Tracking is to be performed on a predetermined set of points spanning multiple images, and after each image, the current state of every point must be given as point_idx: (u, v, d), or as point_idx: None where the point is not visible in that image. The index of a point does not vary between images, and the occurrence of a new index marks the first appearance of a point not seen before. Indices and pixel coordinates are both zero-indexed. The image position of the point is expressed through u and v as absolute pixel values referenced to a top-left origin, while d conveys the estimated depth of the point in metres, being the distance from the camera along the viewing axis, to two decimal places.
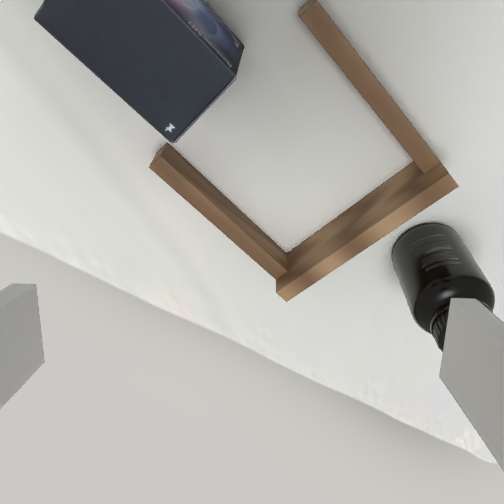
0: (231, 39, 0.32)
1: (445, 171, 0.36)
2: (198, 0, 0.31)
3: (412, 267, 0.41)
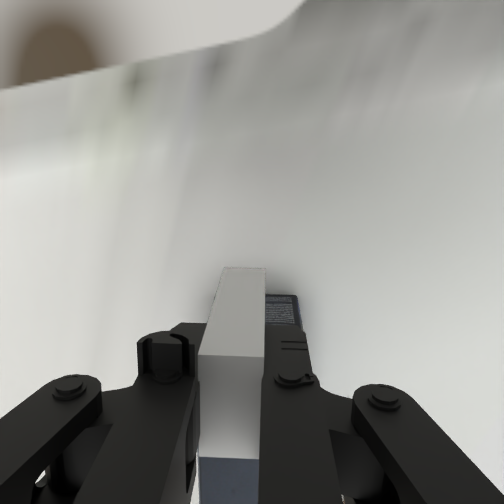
0: None
1: None
2: None
3: None
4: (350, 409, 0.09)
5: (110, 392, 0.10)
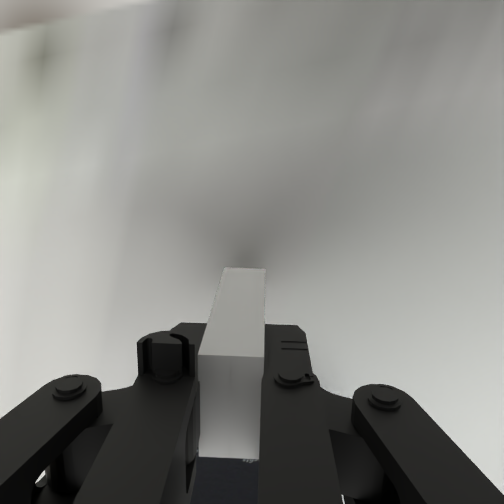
0: None
1: None
2: None
3: None
4: (350, 409, 0.09)
5: (110, 392, 0.10)
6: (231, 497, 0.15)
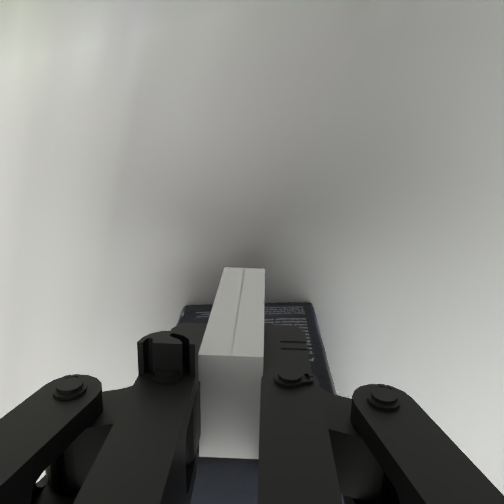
0: None
1: None
2: None
3: None
4: (349, 409, 0.09)
5: (110, 392, 0.10)
6: None
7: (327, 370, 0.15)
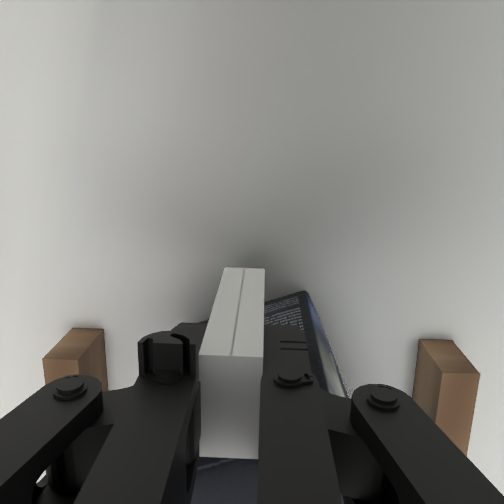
0: None
1: None
2: None
3: None
4: (349, 409, 0.09)
5: (111, 392, 0.10)
6: None
7: (319, 354, 0.15)
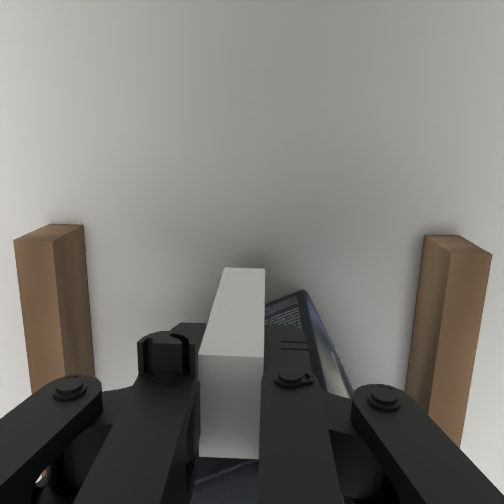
0: None
1: None
2: None
3: None
4: (350, 409, 0.09)
5: (110, 392, 0.10)
6: None
7: (318, 353, 0.15)
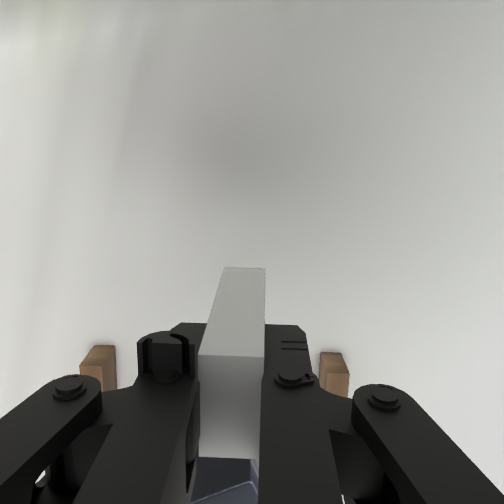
0: None
1: None
2: None
3: None
4: (350, 409, 0.09)
5: (110, 392, 0.10)
6: (204, 462, 0.27)
7: None
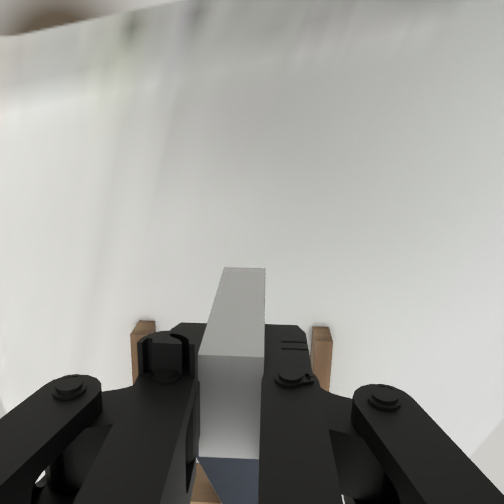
0: None
1: None
2: None
3: None
4: (350, 409, 0.09)
5: (110, 392, 0.10)
6: None
7: None
